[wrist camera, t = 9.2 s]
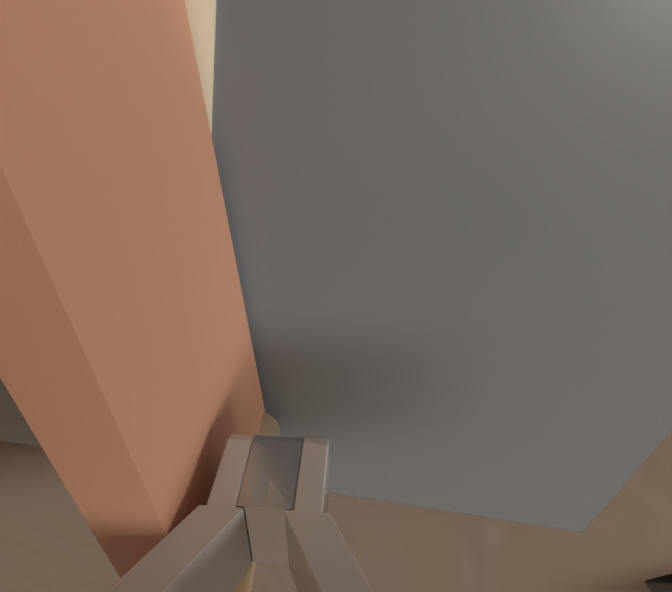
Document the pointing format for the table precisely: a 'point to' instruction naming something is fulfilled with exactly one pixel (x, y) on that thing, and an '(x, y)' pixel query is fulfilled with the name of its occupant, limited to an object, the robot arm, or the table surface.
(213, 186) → the fence panel
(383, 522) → the table surface
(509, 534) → the table surface
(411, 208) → the board
